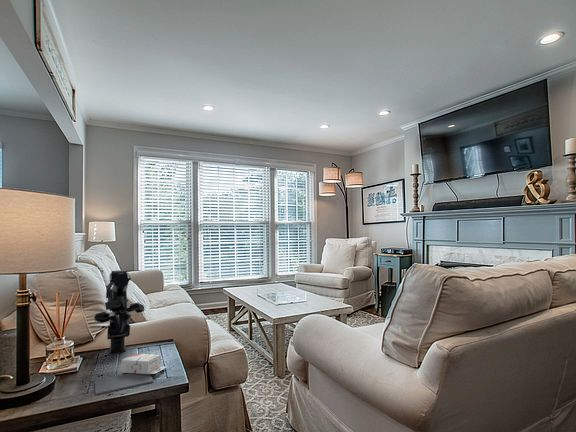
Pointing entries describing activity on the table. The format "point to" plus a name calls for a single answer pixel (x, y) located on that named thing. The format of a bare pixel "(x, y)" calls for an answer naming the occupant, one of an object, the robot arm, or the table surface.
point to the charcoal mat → (121, 382)
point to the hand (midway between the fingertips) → (120, 332)
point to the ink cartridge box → (142, 364)
